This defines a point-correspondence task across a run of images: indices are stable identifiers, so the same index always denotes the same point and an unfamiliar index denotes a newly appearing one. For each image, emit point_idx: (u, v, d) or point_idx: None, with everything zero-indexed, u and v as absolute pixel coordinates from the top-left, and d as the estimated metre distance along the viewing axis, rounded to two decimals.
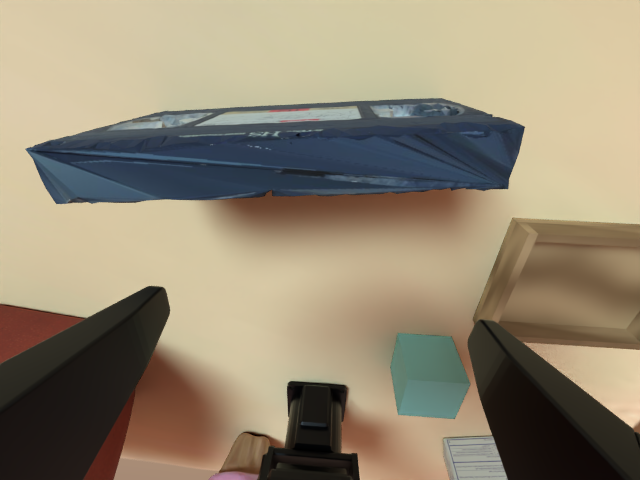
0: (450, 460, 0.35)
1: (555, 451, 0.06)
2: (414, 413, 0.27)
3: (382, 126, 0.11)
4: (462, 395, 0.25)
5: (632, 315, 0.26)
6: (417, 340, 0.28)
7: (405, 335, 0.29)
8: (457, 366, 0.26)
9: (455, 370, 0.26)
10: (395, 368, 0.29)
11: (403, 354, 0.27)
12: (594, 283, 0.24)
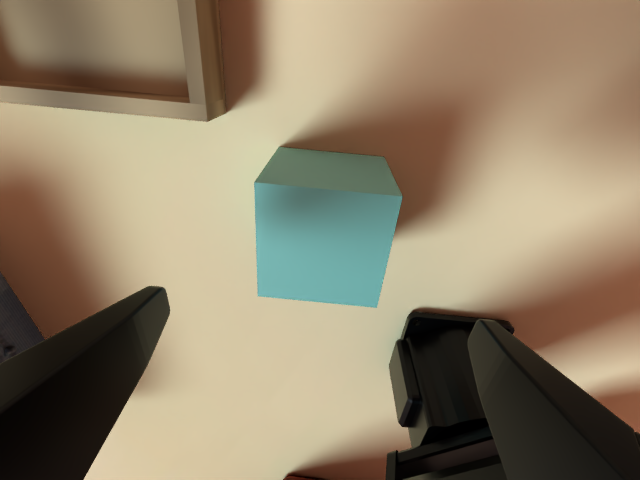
0: None
1: (555, 451, 0.06)
2: (372, 280, 0.12)
3: None
4: (300, 191, 0.10)
5: None
6: None
7: None
8: None
9: None
10: None
11: None
12: None
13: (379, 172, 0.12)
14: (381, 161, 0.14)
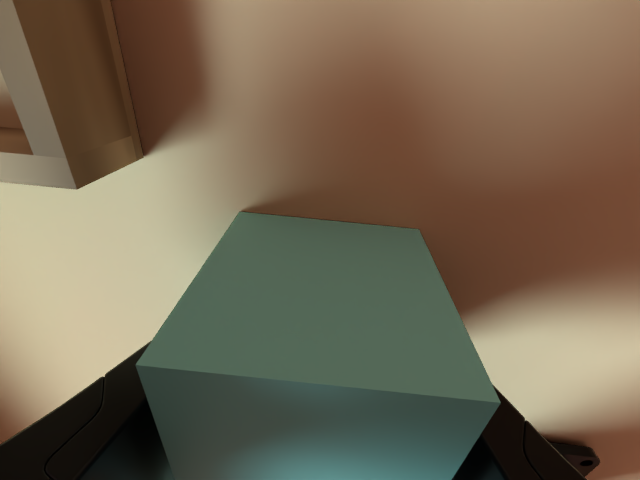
0: None
1: None
2: None
3: None
4: (249, 385, 0.04)
5: None
6: None
7: None
8: None
9: None
10: None
11: None
12: None
13: (421, 286, 0.06)
14: (418, 246, 0.08)
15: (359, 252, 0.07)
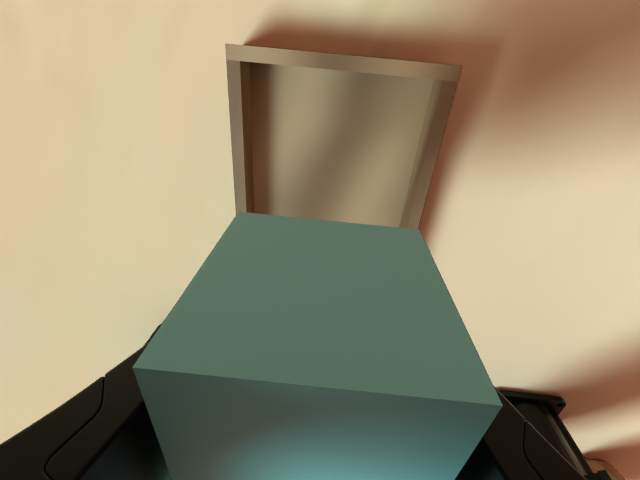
0: None
1: None
2: None
3: None
4: (247, 387, 0.04)
5: (401, 82, 0.15)
6: None
7: None
8: None
9: None
10: None
11: None
12: (329, 166, 0.17)
13: (421, 287, 0.06)
14: (418, 246, 0.08)
15: (359, 252, 0.07)
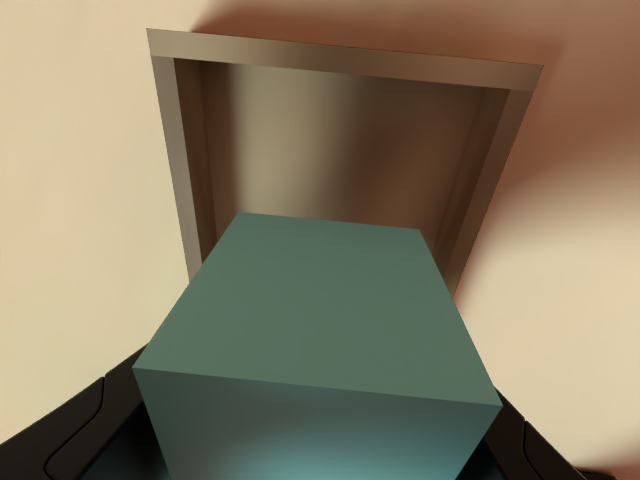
0: None
1: None
2: None
3: None
4: (247, 387, 0.04)
5: (433, 90, 0.10)
6: None
7: None
8: None
9: None
10: None
11: None
12: (324, 210, 0.12)
13: (422, 287, 0.06)
14: (418, 246, 0.08)
15: (359, 252, 0.07)
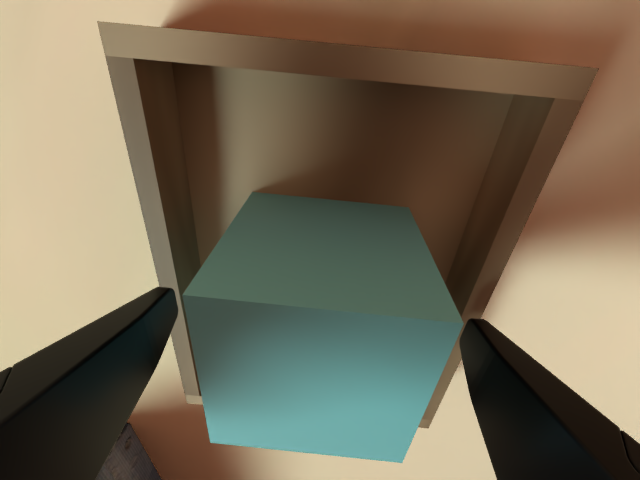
0: None
1: (542, 449, 0.06)
2: (397, 432, 0.07)
3: None
4: (270, 311, 0.06)
5: (452, 97, 0.08)
6: None
7: None
8: None
9: None
10: None
11: None
12: None
13: (407, 248, 0.07)
14: (407, 219, 0.09)
15: (356, 223, 0.08)
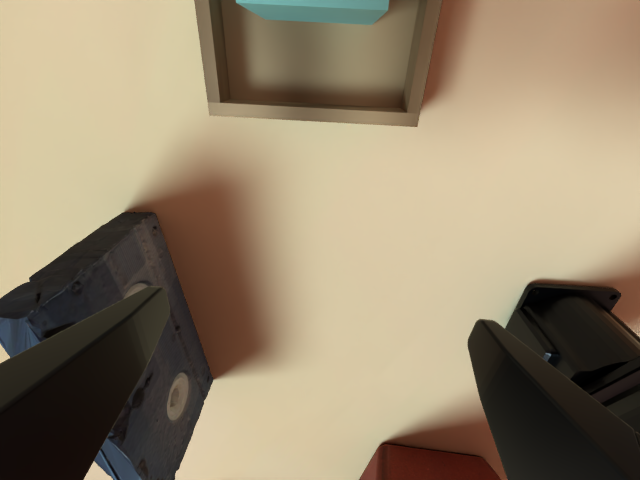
0: None
1: (555, 451, 0.06)
2: None
3: None
4: None
5: None
6: None
7: None
8: None
9: None
10: (331, 19, 0.13)
11: (252, 10, 0.12)
12: None
13: None
14: None
15: None
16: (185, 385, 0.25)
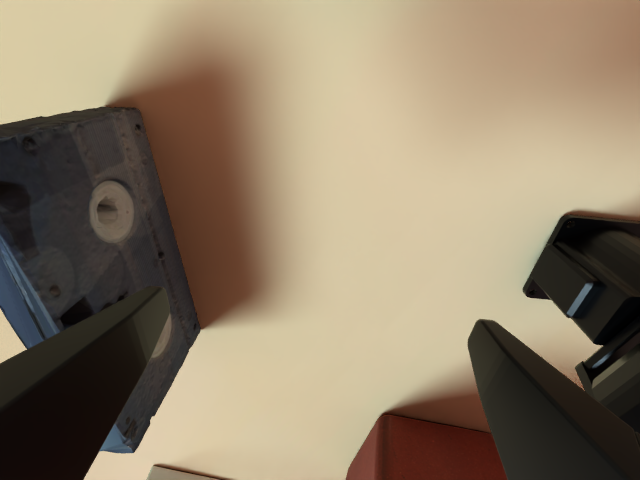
0: None
1: (555, 451, 0.06)
2: None
3: None
4: None
5: None
6: None
7: None
8: None
9: None
10: None
11: None
12: None
13: None
14: None
15: None
16: (167, 323, 0.22)
